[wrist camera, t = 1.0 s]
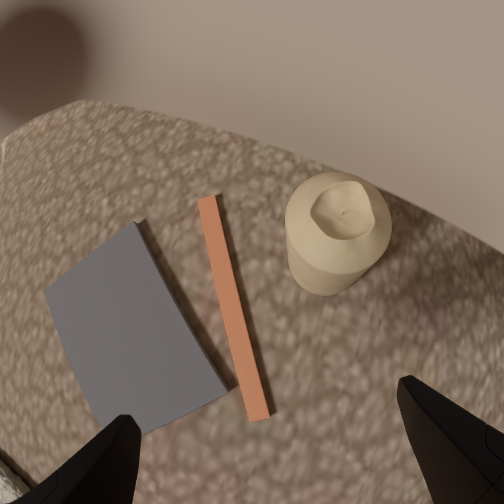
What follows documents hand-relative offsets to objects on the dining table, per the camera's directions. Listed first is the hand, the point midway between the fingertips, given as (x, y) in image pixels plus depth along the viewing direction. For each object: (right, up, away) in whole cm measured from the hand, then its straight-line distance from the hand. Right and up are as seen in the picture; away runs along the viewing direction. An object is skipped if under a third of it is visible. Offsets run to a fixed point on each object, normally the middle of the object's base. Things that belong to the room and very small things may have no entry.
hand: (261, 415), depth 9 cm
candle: (+5, +4, +15) cm, 16 cm away
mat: (-11, -2, +15) cm, 19 cm away
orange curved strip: (-2, +1, +14) cm, 15 cm away
